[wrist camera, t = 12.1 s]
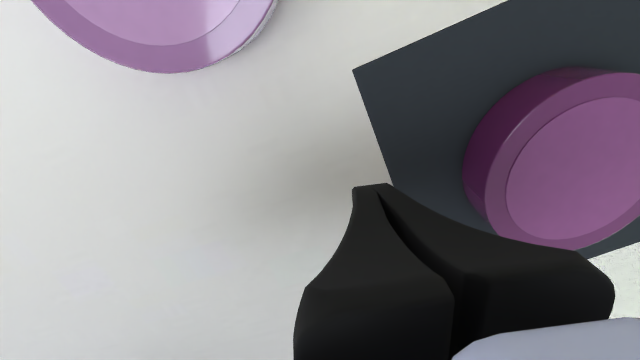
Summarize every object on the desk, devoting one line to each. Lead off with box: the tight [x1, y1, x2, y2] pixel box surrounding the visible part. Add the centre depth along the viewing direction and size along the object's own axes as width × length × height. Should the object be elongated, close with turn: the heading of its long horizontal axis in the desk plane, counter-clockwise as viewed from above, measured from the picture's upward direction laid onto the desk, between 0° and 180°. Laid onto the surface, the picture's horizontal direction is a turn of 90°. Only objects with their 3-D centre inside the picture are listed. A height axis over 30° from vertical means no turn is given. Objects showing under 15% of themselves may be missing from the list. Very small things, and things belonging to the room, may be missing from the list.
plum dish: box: [462, 66, 640, 250], centre depth 13 cm, size 8×8×2 cm
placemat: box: [352, 0, 640, 259], centre depth 14 cm, size 14×14×1 cm
